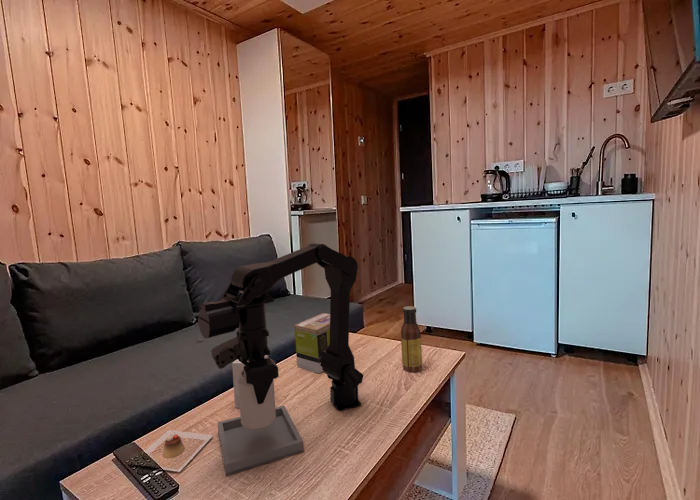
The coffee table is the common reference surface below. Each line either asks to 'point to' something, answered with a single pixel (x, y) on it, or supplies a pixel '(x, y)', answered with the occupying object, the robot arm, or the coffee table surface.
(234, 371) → the supplement box
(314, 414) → the coffee table surface
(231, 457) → the tray
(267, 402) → the can
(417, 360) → the sauce bottle
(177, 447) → the dessert
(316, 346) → the tea box
